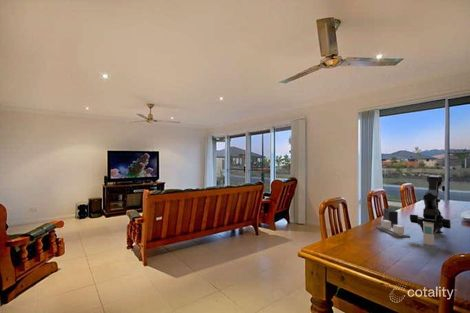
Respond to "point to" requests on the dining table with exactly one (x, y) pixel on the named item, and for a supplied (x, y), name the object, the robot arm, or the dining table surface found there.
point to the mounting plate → (392, 229)
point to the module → (428, 233)
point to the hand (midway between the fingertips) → (428, 233)
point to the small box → (390, 216)
